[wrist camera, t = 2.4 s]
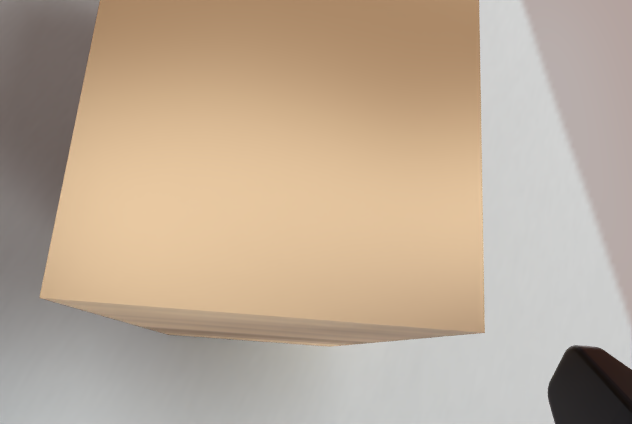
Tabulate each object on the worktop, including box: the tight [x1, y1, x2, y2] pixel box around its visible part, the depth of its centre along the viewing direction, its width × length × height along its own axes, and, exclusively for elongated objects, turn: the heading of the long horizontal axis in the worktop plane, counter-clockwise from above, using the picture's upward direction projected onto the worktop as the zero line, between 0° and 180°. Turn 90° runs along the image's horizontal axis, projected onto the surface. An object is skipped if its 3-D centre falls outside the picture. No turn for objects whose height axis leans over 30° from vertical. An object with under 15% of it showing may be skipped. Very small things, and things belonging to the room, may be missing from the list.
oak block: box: [39, 0, 485, 346], centre depth 12 cm, size 5×5×11 cm
